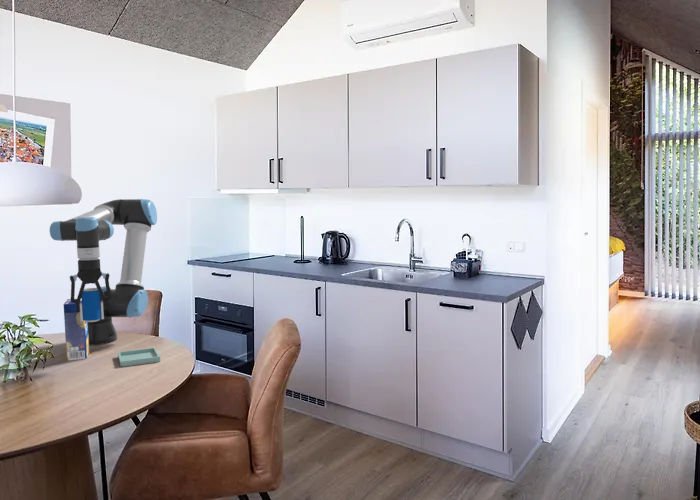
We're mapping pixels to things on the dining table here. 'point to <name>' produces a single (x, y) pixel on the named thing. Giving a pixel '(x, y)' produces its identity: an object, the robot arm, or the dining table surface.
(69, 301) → the beverage box
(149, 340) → the dining table surface
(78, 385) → the dining table surface
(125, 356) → the tray
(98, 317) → the beverage can
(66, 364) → the dining table surface
